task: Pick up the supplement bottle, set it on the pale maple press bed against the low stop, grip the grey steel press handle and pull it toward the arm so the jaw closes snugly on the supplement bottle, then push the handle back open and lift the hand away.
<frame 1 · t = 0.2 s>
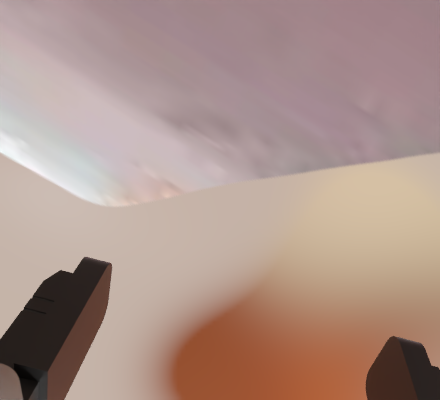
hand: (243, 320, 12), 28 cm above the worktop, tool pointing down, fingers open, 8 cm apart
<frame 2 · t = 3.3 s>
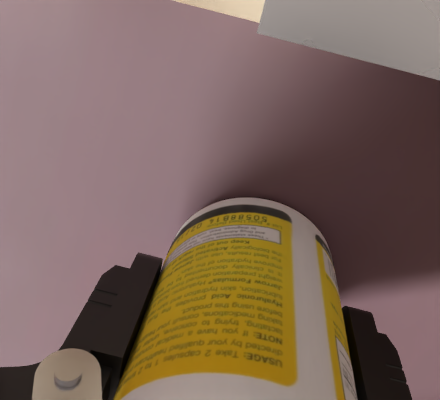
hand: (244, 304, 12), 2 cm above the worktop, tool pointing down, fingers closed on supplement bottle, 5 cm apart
supplement bottle: (250, 258, 14), on the worktop, touching gripper
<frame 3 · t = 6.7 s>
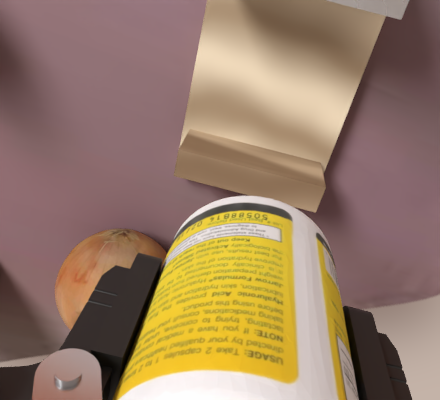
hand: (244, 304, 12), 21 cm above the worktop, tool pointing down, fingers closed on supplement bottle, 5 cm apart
supplement bottle: (250, 257, 14), point 19 cm above the worktop, touching gripper
press bed: (285, 38, 28), on the worktop
onion: (135, 251, 39), on the worktop
when the fingers open (4 cm above the worktop, at t = 10.2 s): supplement bottle stays where it is, resting on press bed.
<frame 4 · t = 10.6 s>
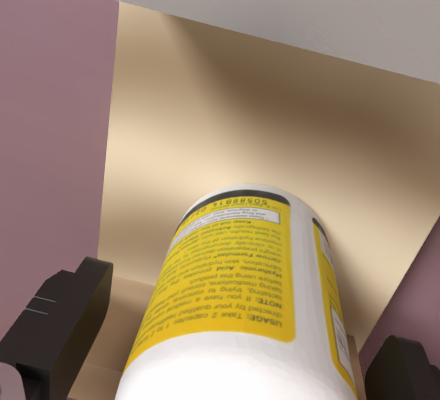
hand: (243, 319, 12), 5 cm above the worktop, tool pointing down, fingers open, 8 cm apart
supplement bottle: (251, 243, 15), point 1 cm above the worktop, touching press bed
press bed: (287, 114, 14), on the worktop
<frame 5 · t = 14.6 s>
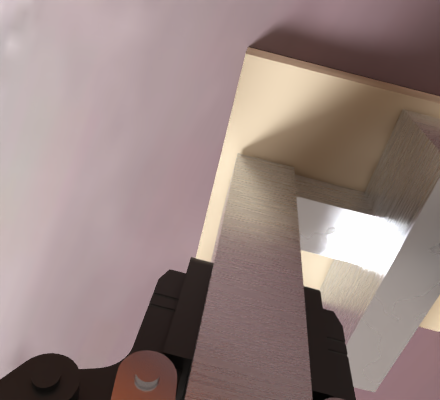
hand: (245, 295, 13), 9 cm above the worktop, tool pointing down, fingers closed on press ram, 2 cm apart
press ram: (330, 314, 13), point 8 cm above the worktop, slide at 0.0 cm, touching gripper
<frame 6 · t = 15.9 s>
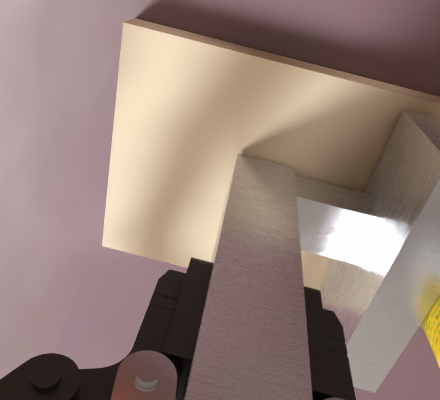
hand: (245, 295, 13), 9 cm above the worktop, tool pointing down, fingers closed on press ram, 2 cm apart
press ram: (330, 314, 13), point 8 cm above the worktop, slide at 4.9 cm, touching supplement bottle, gripper
press bed: (352, 197, 20), on the worktop
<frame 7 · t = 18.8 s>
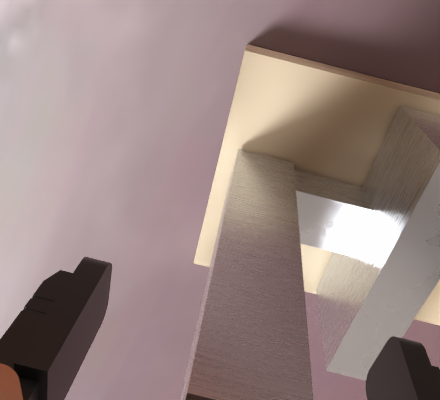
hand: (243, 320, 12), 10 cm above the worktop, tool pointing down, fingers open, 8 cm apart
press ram: (328, 304, 13), point 9 cm above the worktop, slide at 0.1 cm
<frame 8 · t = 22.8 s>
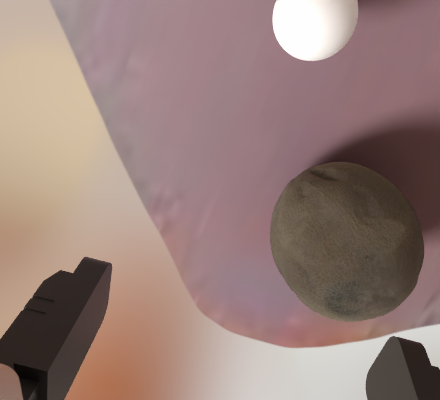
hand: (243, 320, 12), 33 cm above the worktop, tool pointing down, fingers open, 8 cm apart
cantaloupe: (333, 199, 47), on the worktop
lightbulb: (307, 7, 38), on the worktop
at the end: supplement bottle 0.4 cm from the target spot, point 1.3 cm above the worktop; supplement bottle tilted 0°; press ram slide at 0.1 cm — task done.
